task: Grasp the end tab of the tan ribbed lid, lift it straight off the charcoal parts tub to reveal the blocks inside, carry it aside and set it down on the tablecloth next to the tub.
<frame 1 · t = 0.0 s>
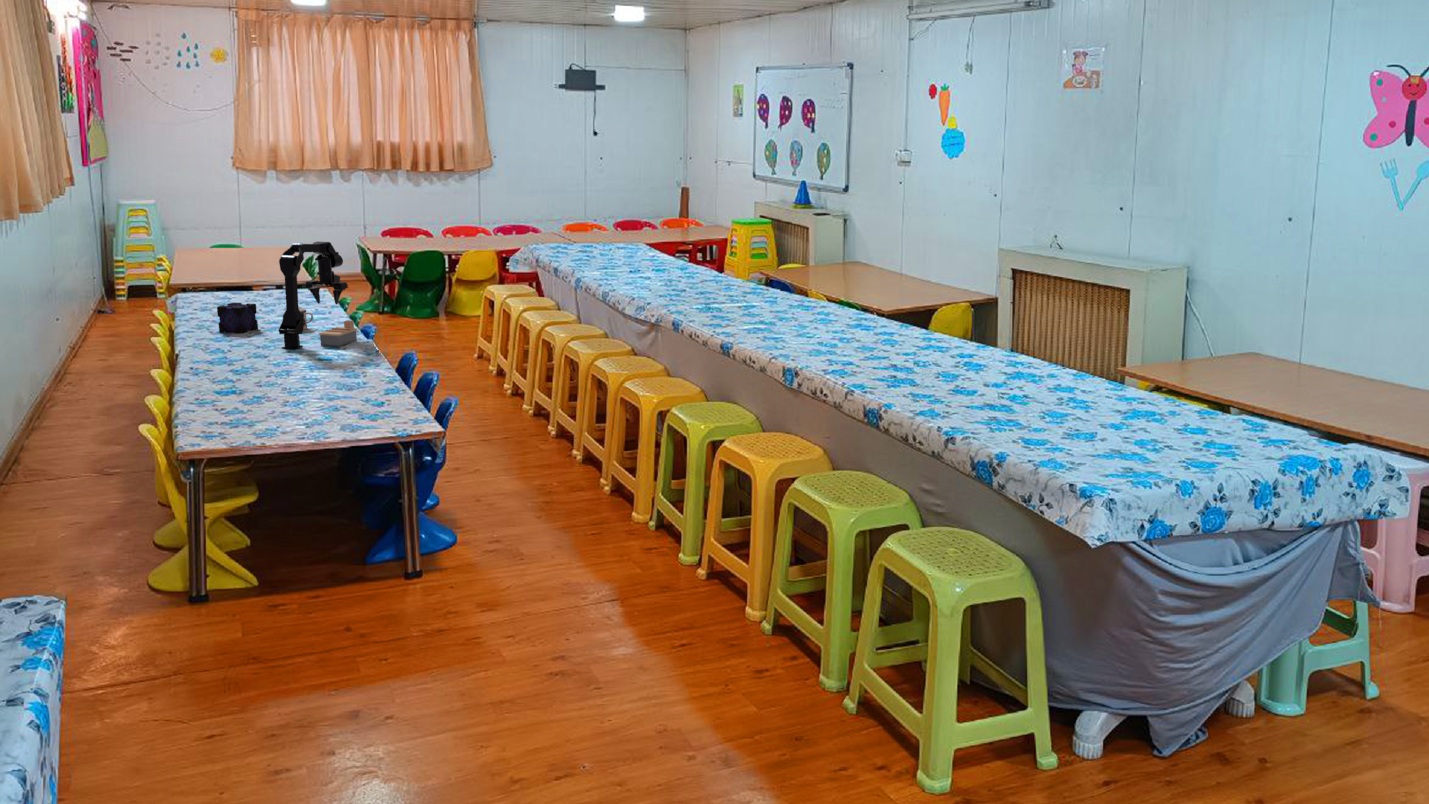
hand: (327, 303, 521), 15 cm above the table, fingers open, 9 cm apart
energy cube: (238, 331, 534), on the table
teacup with lid: (300, 329, 540), on the table
tub: (339, 343, 508), on the table
lid: (338, 332, 507), point 5 cm above the table, touching tub
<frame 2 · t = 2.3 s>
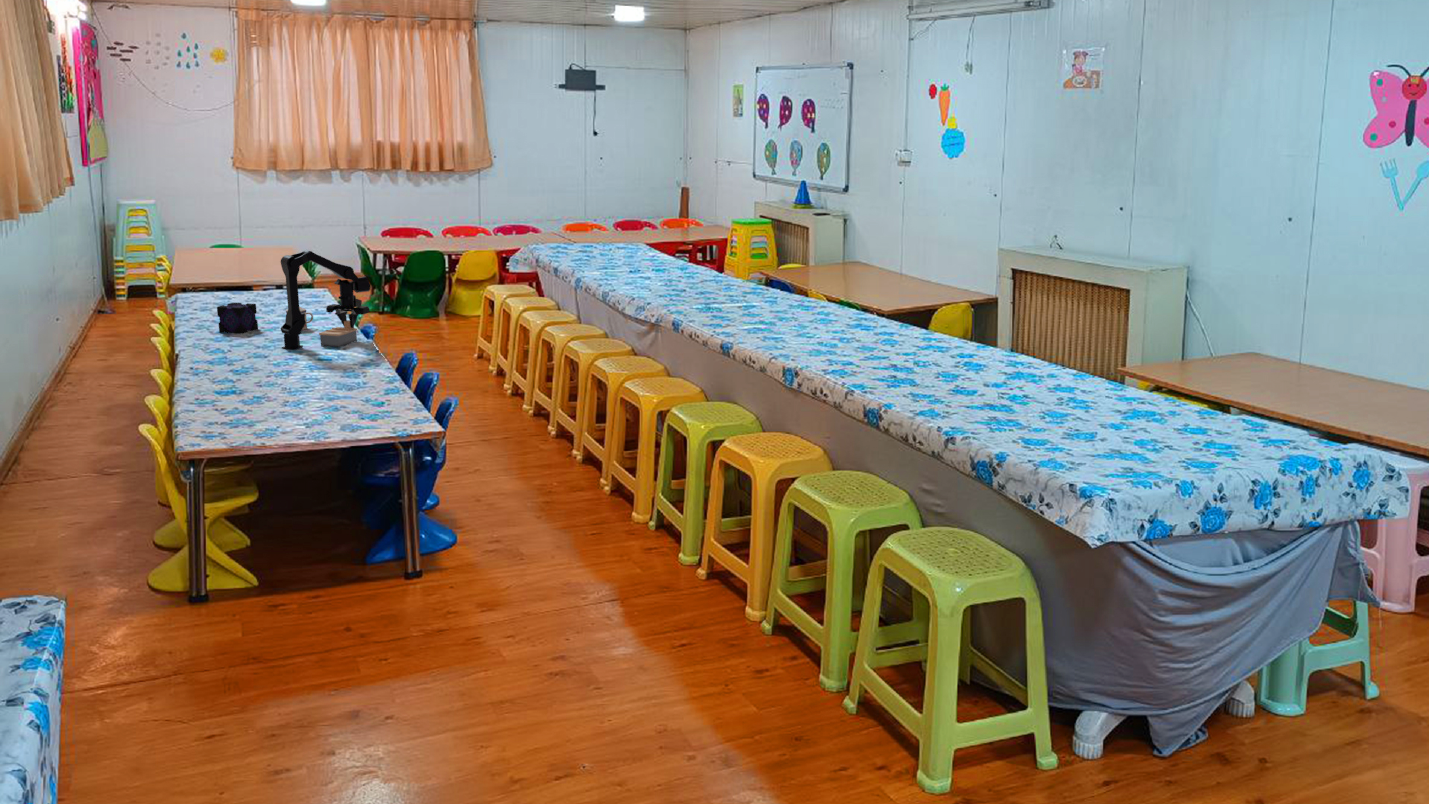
hand: (349, 328, 515), 5 cm above the table, fingers closed on lid, 3 cm apart
lid: (338, 332, 507), point 5 cm above the table, touching gripper, tub
everything else where it was.
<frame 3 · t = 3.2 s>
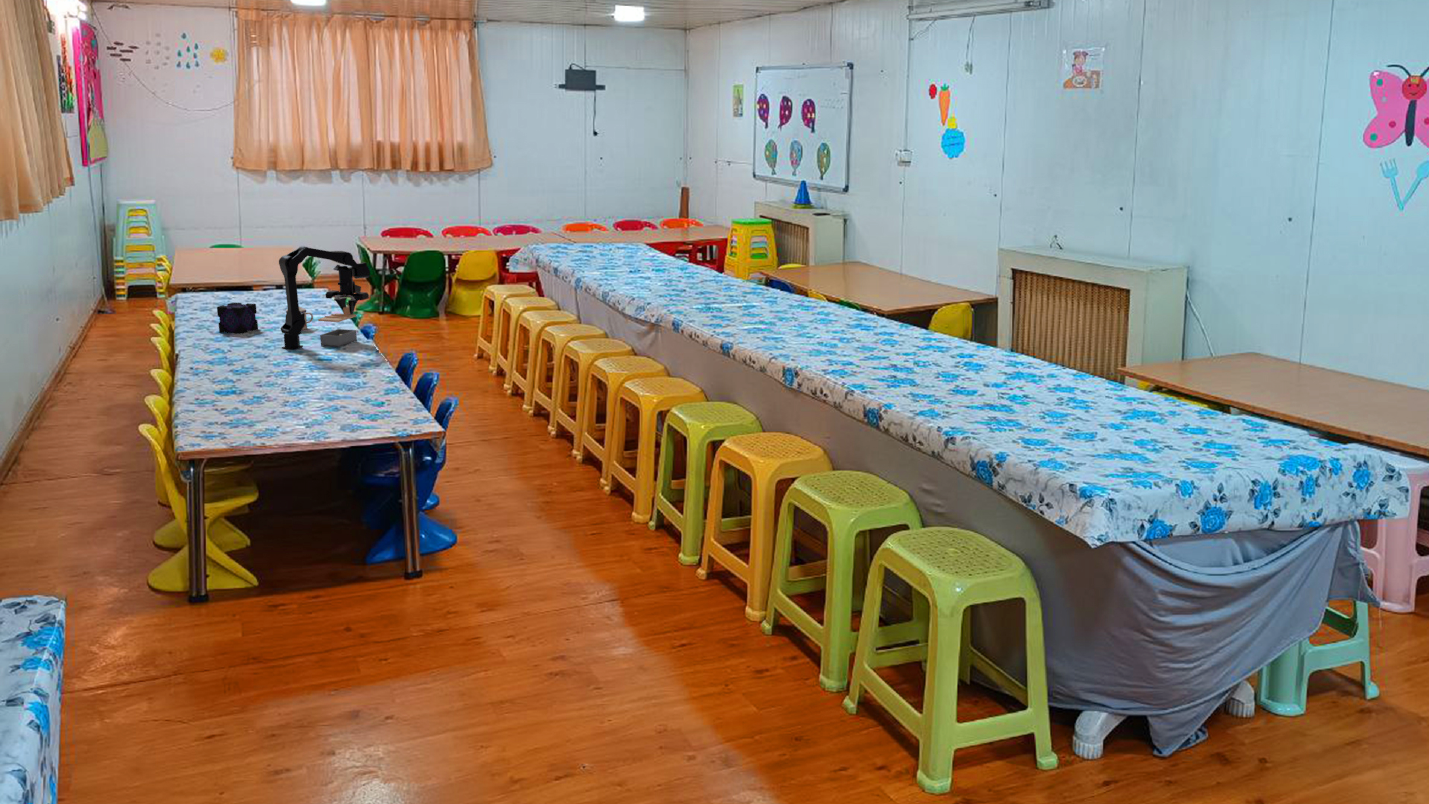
hand: (348, 314, 513), 12 cm above the table, fingers closed on lid, 3 cm apart
lid: (337, 318, 506), point 11 cm above the table, touching gripper
everything else where it was.
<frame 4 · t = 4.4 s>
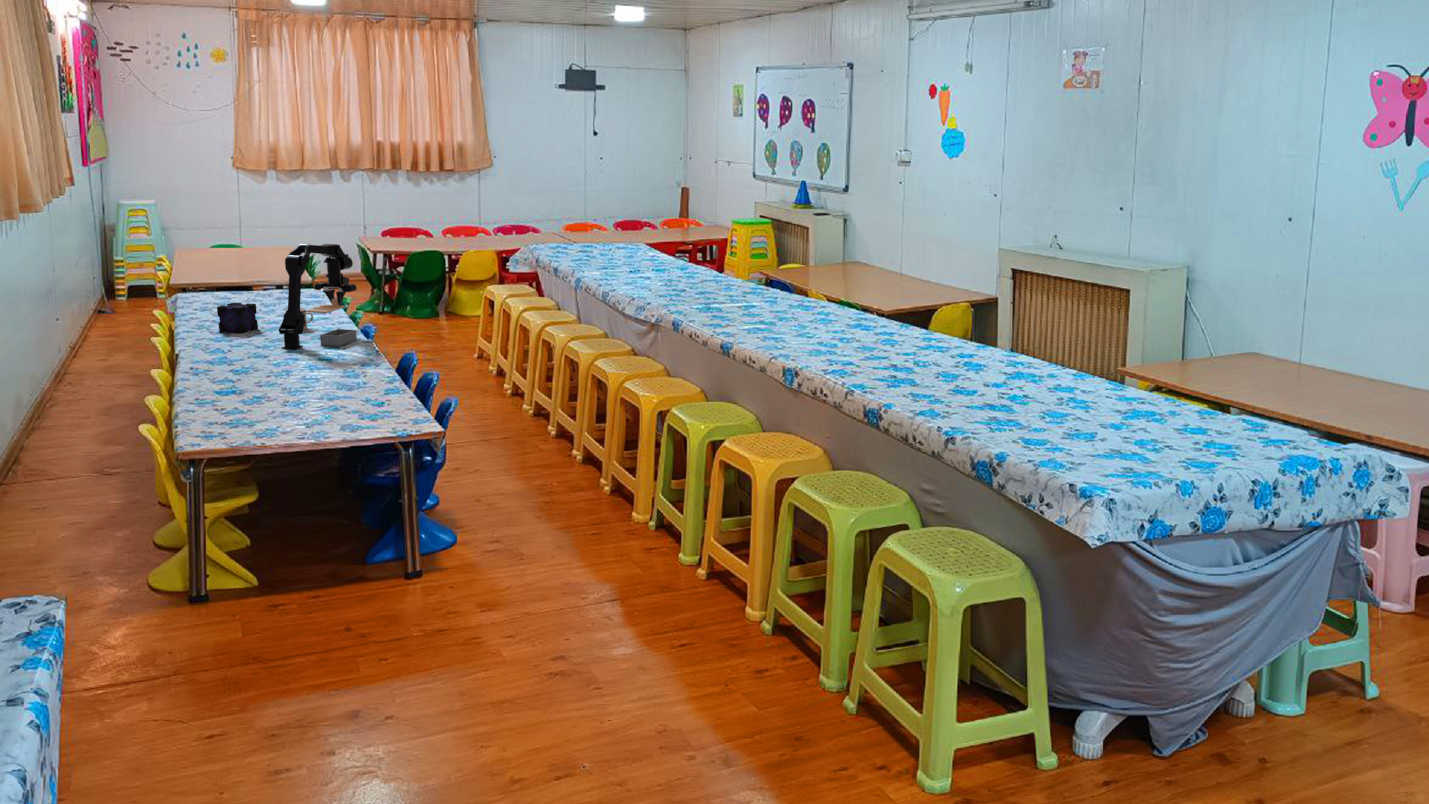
hand: (336, 305, 525), 13 cm above the table, fingers closed on lid, 3 cm apart
lid: (325, 309, 517), point 13 cm above the table, touching gripper
everything else where it was.
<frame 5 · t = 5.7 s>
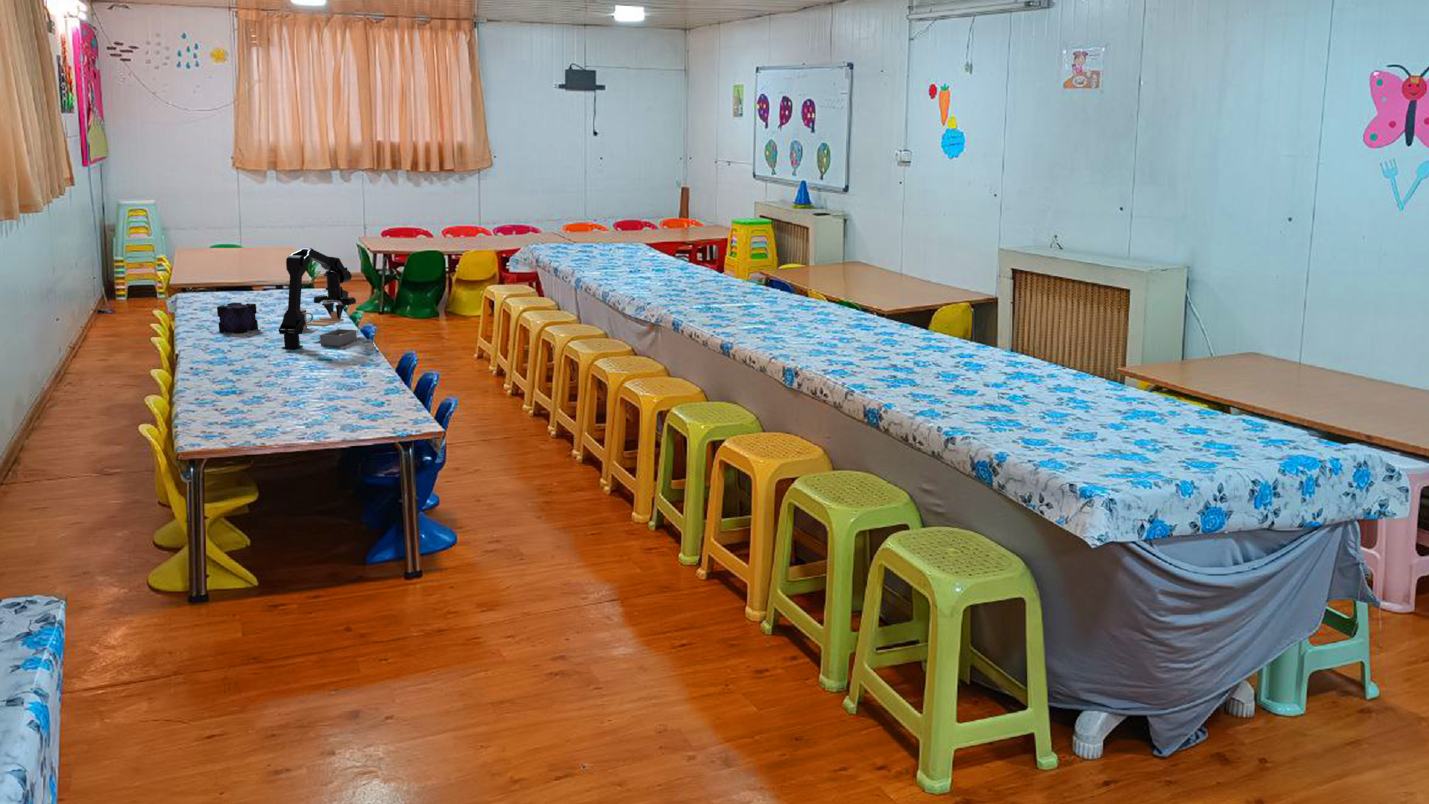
hand: (336, 318, 527), 7 cm above the table, fingers closed on lid, 3 cm apart
lid: (325, 322, 519), point 7 cm above the table, touching gripper
everything else where it was.
when the fingers open (2 cm above the table, at t = 6.8 s): lid drops 2 cm, on the table.
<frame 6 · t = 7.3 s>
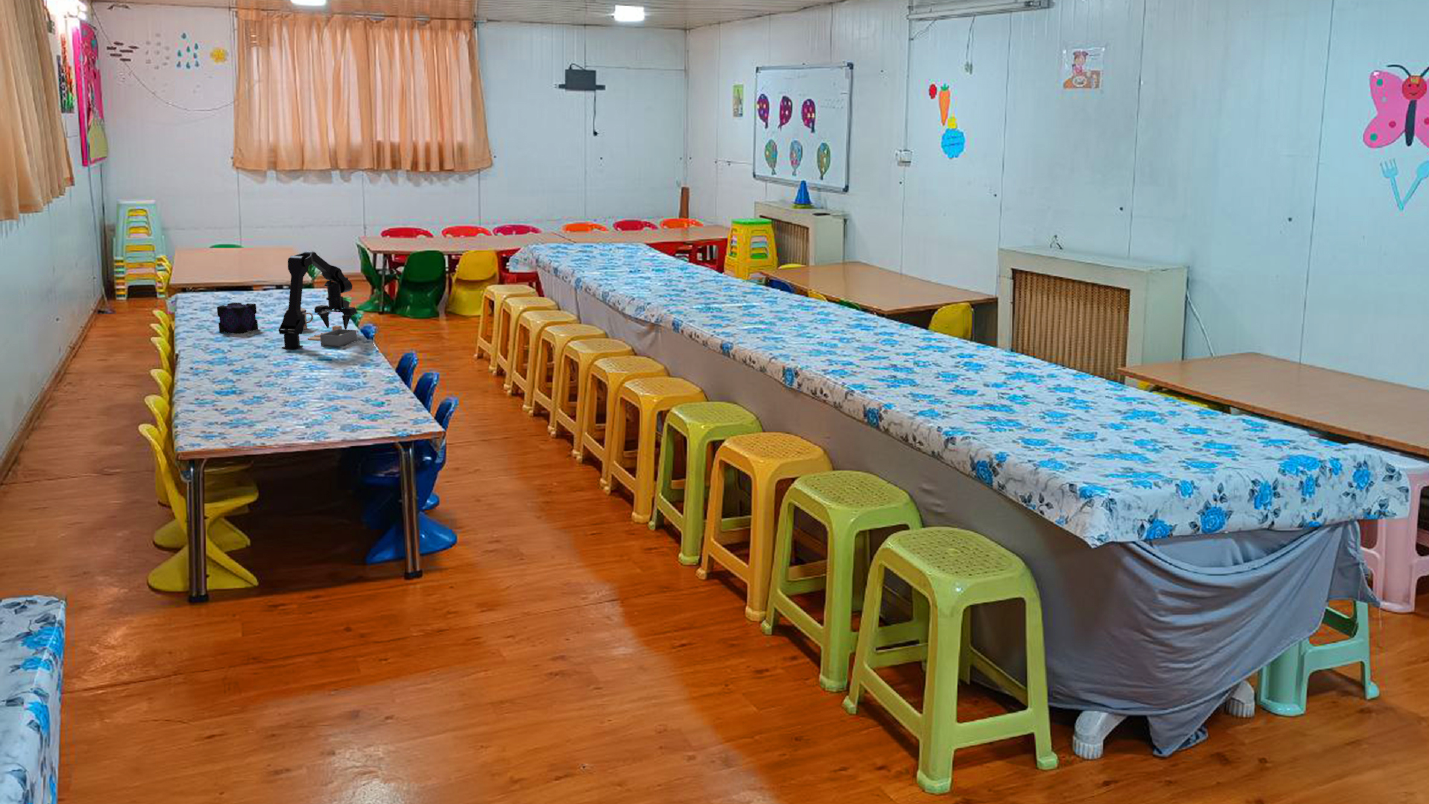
hand: (336, 328, 528), 2 cm above the table, fingers open, 9 cm apart
lid: (326, 337, 521), on the table
everything else where it was.
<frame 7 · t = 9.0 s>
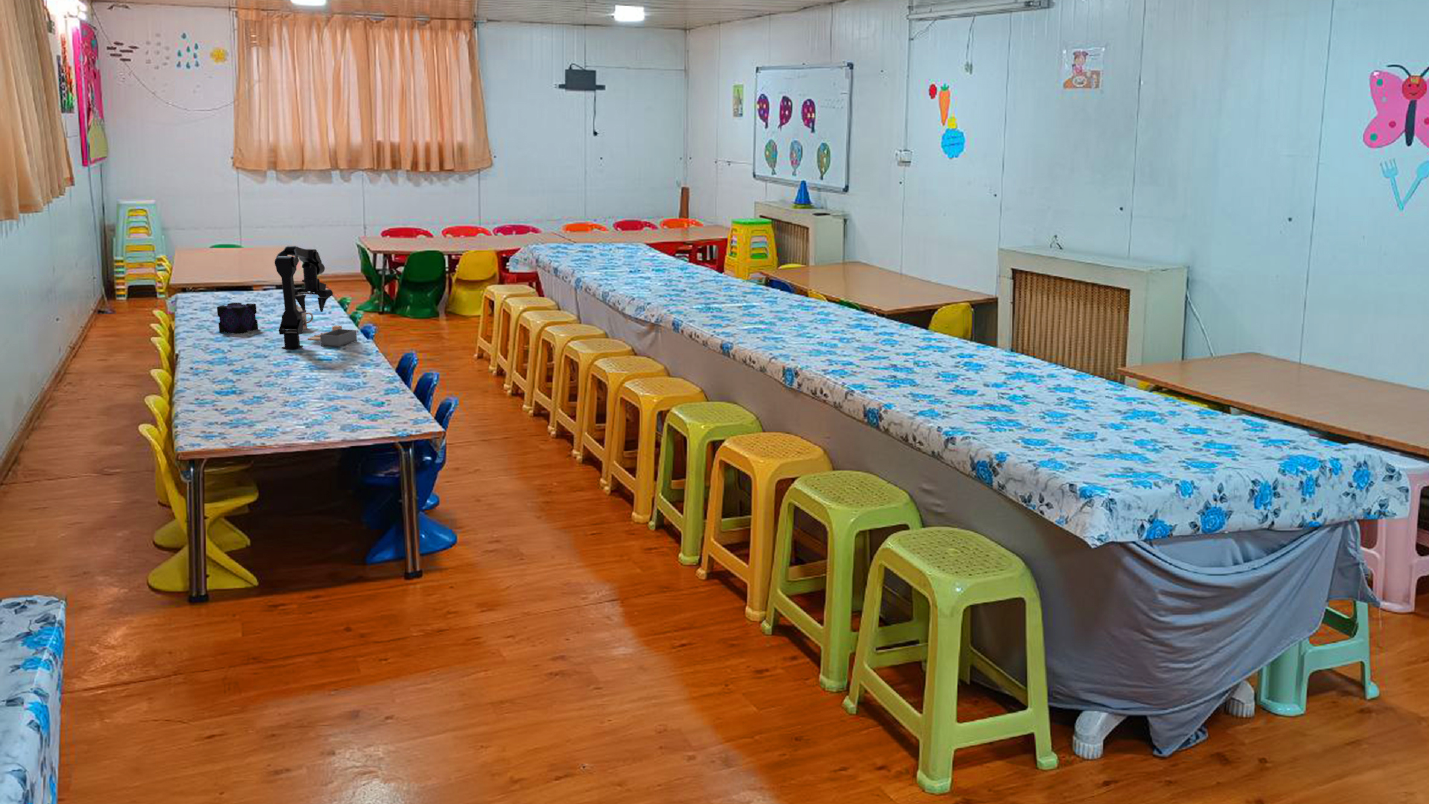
hand: (312, 311, 520), 11 cm above the table, fingers open, 9 cm apart
nothing on the table moved.
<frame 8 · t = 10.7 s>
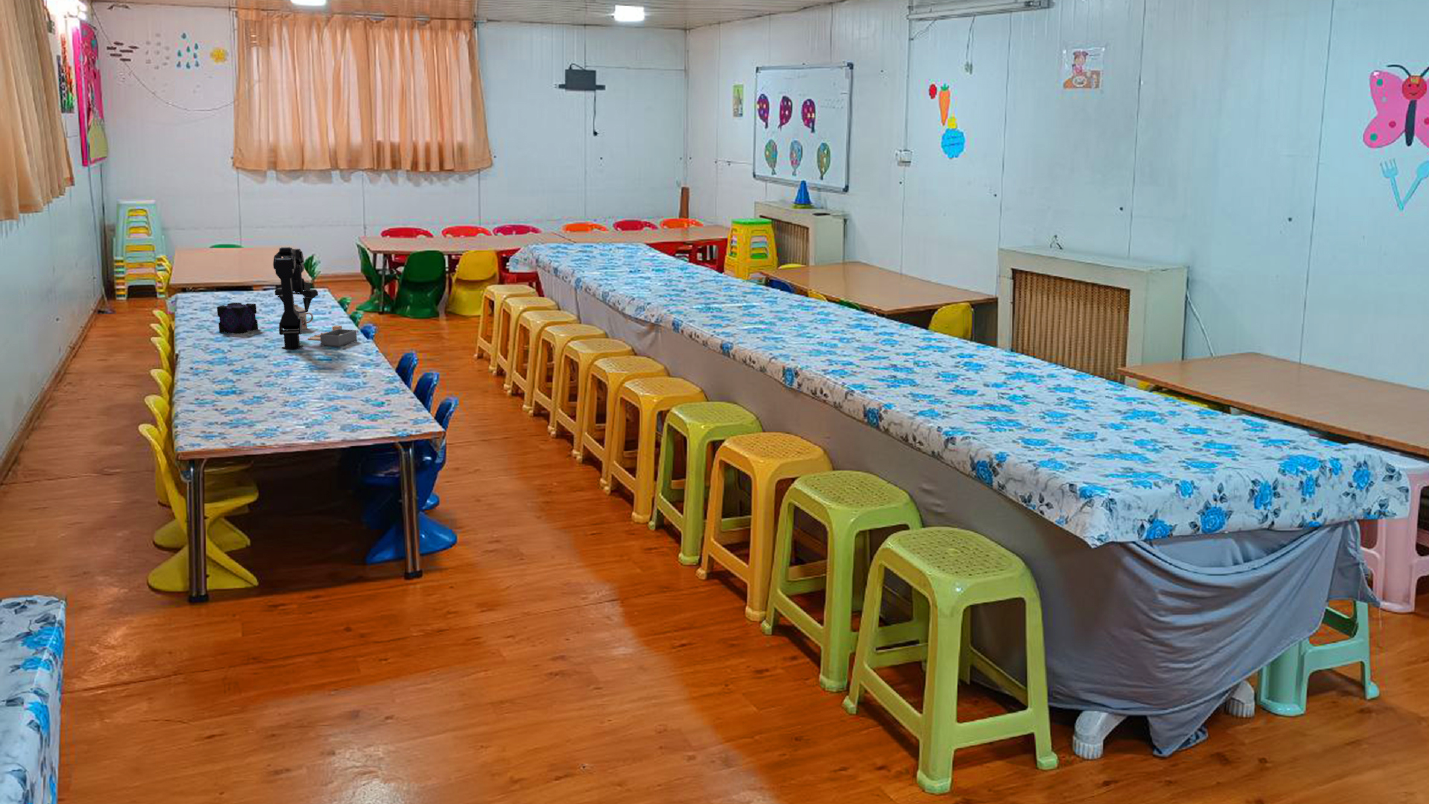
hand: (297, 311, 517), 12 cm above the table, fingers open, 9 cm apart
nothing on the table moved.
at the end: lid moved 17.3 cm from its start; lid touching table; lid on the table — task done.
